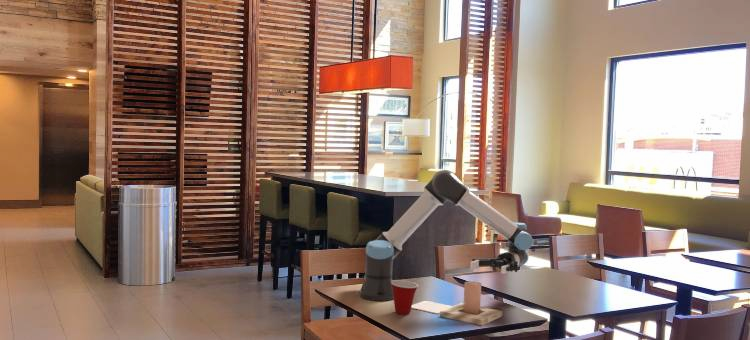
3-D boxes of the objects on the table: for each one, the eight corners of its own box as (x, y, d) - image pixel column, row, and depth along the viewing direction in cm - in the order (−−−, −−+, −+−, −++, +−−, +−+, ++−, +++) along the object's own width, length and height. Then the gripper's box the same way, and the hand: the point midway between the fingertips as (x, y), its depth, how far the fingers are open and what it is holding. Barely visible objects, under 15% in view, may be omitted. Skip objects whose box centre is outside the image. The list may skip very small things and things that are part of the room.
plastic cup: (414, 317, 245) (416, 286, 245) (387, 314, 248) (388, 284, 247) (418, 310, 256) (420, 280, 255) (392, 308, 258) (393, 278, 258)
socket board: (439, 316, 249) (440, 311, 249) (461, 307, 264) (461, 302, 264) (482, 325, 239) (482, 320, 239) (502, 316, 254) (502, 311, 254)
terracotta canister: (459, 316, 251) (461, 283, 250) (467, 313, 256) (469, 280, 255) (475, 319, 247) (476, 285, 246) (482, 316, 252) (484, 283, 252)
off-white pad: (407, 307, 260) (407, 306, 260) (425, 301, 272) (425, 300, 271) (437, 314, 252) (437, 313, 252) (454, 307, 263) (454, 306, 263)
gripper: (535, 273, 270) (514, 281, 252) (480, 265, 284) (458, 272, 267) (535, 256, 270) (515, 262, 252) (481, 248, 284) (459, 254, 266)
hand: (486, 267), depth 259 cm, fingers open, 13 cm apart
